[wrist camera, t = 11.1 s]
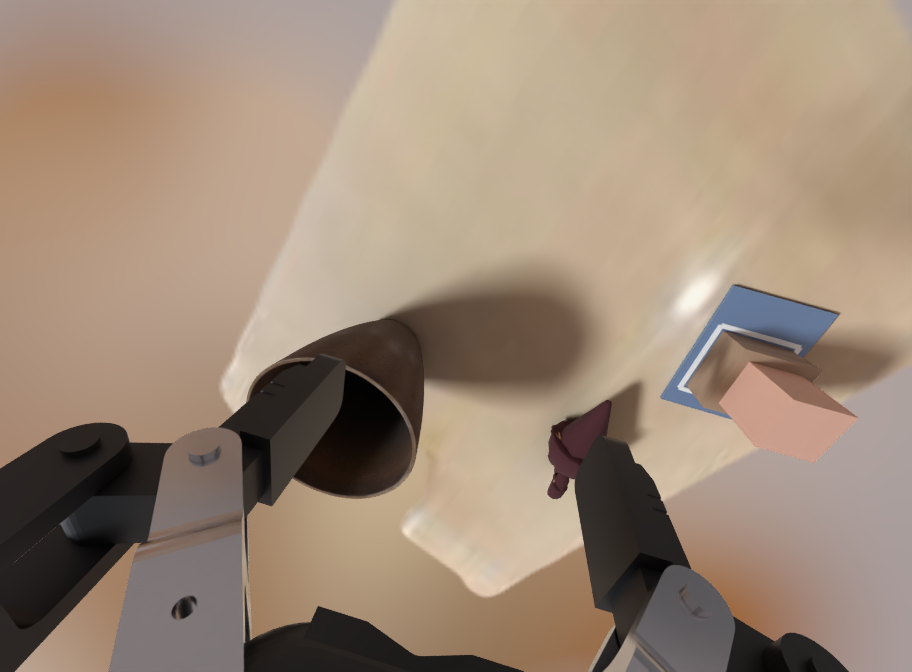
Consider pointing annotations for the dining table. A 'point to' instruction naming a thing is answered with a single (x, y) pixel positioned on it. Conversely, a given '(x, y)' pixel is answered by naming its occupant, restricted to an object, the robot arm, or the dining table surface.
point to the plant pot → (364, 410)
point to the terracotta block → (785, 412)
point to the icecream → (574, 445)
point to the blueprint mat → (750, 333)
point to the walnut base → (740, 366)
